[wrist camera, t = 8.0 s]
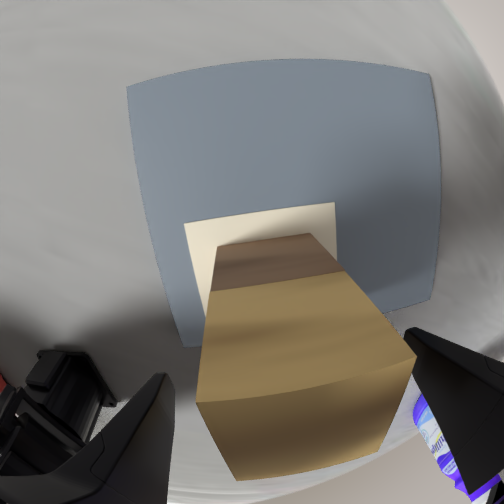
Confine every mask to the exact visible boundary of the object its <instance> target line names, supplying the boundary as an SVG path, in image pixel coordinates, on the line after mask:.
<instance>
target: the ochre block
mask: <svg viewBox="0 0 504 504" xmlns="http://www.w3.org/2000/svg"><path fill="white" fill-rule="evenodd" d="M416 357H417V356H416V355H415V353H414V352H413V351H412V350H411V348H410V347H409V346H408V344H407V343H406V342H405V341H404V340H403V338H402V337H401V336H400V335H399V333H398V332H397V331H396V330H395V328H394V327H393V326H392V325H391V324H390V322H389V321H388V320H387V319H386V318H385V316H384V315H383V314H382V313H381V312H380V311H379V309H378V308H377V307H376V306H375V305H374V304H373V302H372V301H371V300H370V299H369V298H368V297H367V295H366V294H365V293H364V292H363V291H362V290H361V289H360V287H359V286H358V285H357V284H356V283H355V282H354V281H353V280H352V278H351V277H350V276H349V275H348V274H347V273H346V272H345V271H340V272H334V273H329V274H323V275H317V276H311V277H305V278H299V279H293V280H287V281H280V282H274V283H267V284H261V285H254V286H247V287H240V288H233V289H226V290H219V291H211V292H209V299H208V306H207V313H206V320H205V327H204V335H203V342H202V350H201V358H200V367H199V375H198V384H197V393H196V405H197V407H198V409H199V411H200V413H201V415H202V417H203V419H204V422H205V424H206V426H207V428H208V430H209V432H210V434H211V436H212V438H213V440H214V441H215V443H216V445H217V447H218V449H219V451H220V453H221V455H222V457H223V458H224V460H225V462H226V464H227V465H228V467H229V469H230V471H231V472H232V474H233V476H234V478H235V479H236V481H244V480H255V479H264V478H272V477H280V476H286V475H292V474H297V473H303V472H308V471H312V470H317V469H321V468H325V467H329V466H333V465H337V464H341V463H344V462H348V461H351V460H354V459H357V458H360V457H364V456H366V455H369V454H372V453H375V452H378V450H379V448H380V446H381V444H382V442H383V440H384V438H385V436H386V434H387V432H388V430H389V427H390V425H391V423H392V421H393V419H394V416H395V414H396V412H397V409H398V407H399V405H400V402H401V400H402V397H403V395H404V392H405V389H406V387H407V384H408V381H409V378H410V376H411V373H412V370H413V367H414V364H415V361H416Z"/></svg>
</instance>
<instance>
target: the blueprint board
mask: <svg viewBox="0 0 504 504" xmlns="http://www.w3.org/2000/svg"><path fill="white" fill-rule="evenodd" d="M126 88H127V100H128V110H129V119H130V127H131V135H132V142H133V149H134V155H135V162H136V168H137V173H138V179H139V185H140V190H141V195H142V200H143V205H144V210H145V214H146V219H147V223H148V228H149V232H150V236H151V240H152V244H153V248H154V252H155V256H156V260H157V264H158V267H159V271H160V275H161V278H162V282H163V285H164V289H165V292H166V295H167V299H168V302H169V305H170V308H171V312H172V315H173V318H174V321H175V324H176V327H177V330H178V333H179V336H180V339H181V341H182V344H183V347H184V348H188V347H199V346H202V342H203V335H204V327H205V320H206V313H207V306H208V299H209V292H210V289H211V283H212V276H213V269H214V263H215V256H216V250H217V246H224V245H230V244H237V243H244V242H250V241H257V240H264V239H271V238H277V237H284V236H291V235H298V234H305V233H311V234H312V235H313V236H314V237H315V238H316V239H317V240H318V241H319V243H320V244H321V245H322V246H323V247H324V248H325V249H326V250H327V251H328V252H329V253H330V254H331V255H332V256H333V257H334V258H335V260H336V261H337V262H338V263H339V264H340V265H341V266H342V267H343V268H344V269H345V272H346V273H347V274H348V275H349V276H350V277H351V278H352V280H353V281H354V282H355V283H356V284H357V285H358V286H359V287H360V289H361V290H362V291H363V292H364V293H365V294H366V295H367V297H368V298H369V299H370V300H371V301H372V302H373V304H374V305H375V306H376V307H377V308H378V309H379V311H380V312H381V313H386V312H390V311H393V310H397V309H401V308H404V307H407V306H411V305H414V304H417V303H421V302H424V301H427V300H430V297H431V292H432V286H433V280H434V274H435V267H436V259H437V251H438V241H439V229H440V211H441V165H440V147H439V135H438V126H437V117H436V110H435V104H434V97H433V92H432V86H431V81H430V77H429V74H427V73H422V72H418V71H413V70H409V69H404V68H398V67H393V66H386V65H380V64H373V63H364V62H355V61H343V60H326V59H279V60H261V61H249V62H240V63H231V64H224V65H217V66H210V67H204V68H199V69H194V70H189V71H184V72H179V73H175V74H170V75H166V76H162V77H158V78H155V79H151V80H147V81H144V82H140V83H137V84H134V85H131V86H128V87H126Z"/></svg>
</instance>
